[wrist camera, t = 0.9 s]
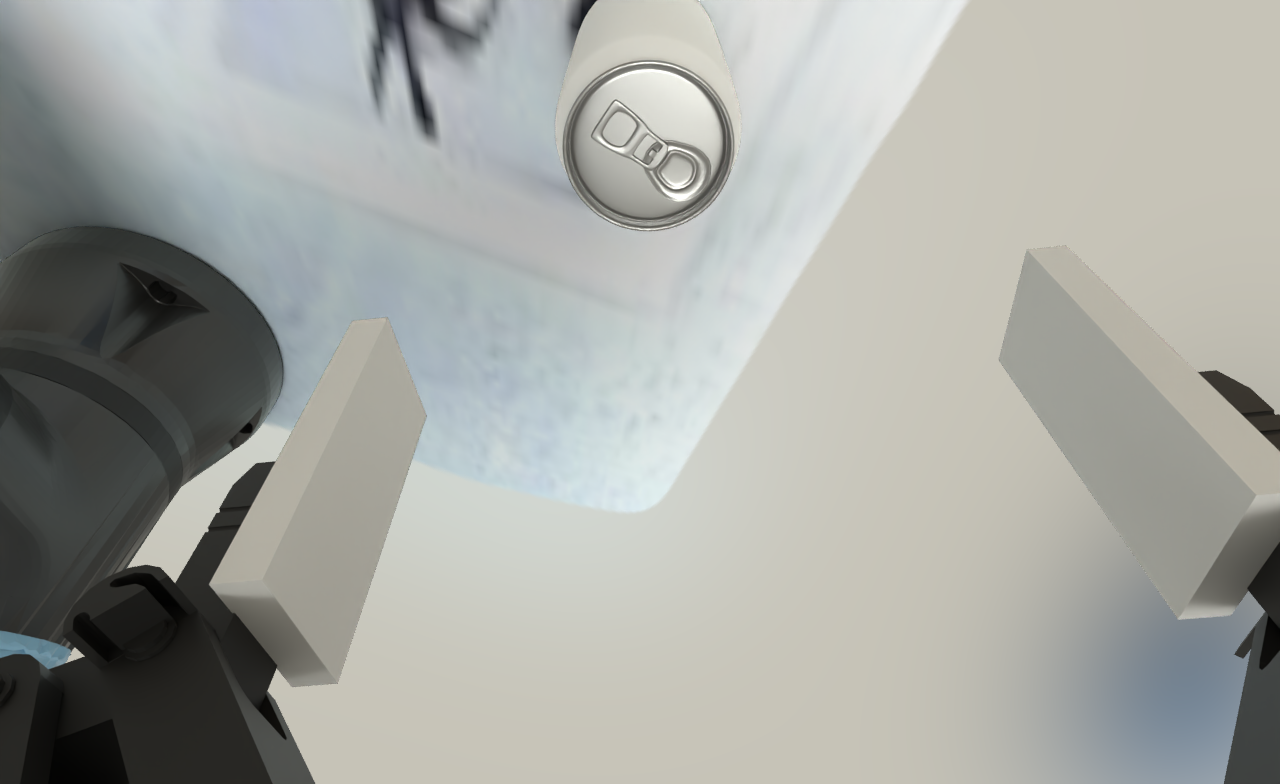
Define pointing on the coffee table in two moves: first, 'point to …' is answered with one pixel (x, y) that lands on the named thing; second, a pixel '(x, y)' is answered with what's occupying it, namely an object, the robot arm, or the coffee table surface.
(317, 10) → the coffee table surface
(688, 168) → the can
